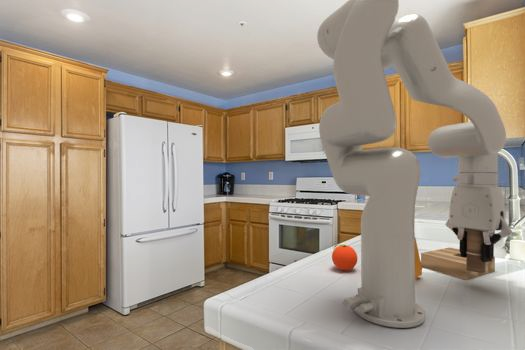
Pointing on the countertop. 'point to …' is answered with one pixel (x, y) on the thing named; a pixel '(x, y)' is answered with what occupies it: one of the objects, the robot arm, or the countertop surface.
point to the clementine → (344, 257)
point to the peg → (474, 251)
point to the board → (452, 263)
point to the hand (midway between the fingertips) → (475, 258)
